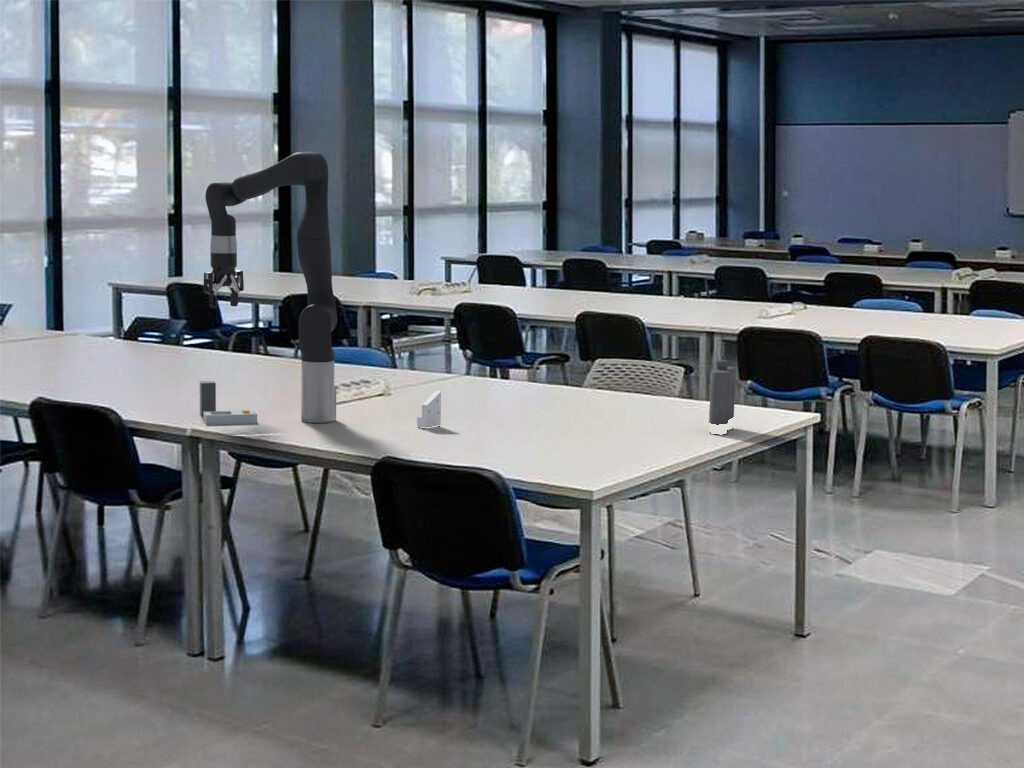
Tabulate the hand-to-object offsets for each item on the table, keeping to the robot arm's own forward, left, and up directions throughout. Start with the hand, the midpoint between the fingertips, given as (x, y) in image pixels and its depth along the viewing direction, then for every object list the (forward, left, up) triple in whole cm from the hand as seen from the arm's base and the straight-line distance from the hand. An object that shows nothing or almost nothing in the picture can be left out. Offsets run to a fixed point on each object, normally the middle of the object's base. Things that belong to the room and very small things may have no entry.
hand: (223, 307), depth 442 cm
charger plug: (+13, +6, -30) cm, 33 cm away
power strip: (+17, +19, -30) cm, 39 cm away
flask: (-63, +130, -30) cm, 148 cm away
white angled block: (-14, +64, -30) cm, 72 cm away
